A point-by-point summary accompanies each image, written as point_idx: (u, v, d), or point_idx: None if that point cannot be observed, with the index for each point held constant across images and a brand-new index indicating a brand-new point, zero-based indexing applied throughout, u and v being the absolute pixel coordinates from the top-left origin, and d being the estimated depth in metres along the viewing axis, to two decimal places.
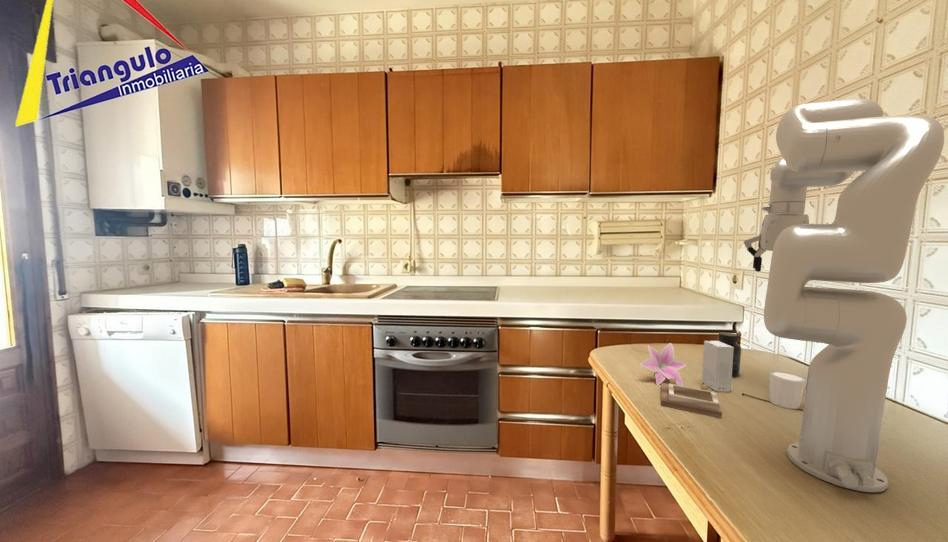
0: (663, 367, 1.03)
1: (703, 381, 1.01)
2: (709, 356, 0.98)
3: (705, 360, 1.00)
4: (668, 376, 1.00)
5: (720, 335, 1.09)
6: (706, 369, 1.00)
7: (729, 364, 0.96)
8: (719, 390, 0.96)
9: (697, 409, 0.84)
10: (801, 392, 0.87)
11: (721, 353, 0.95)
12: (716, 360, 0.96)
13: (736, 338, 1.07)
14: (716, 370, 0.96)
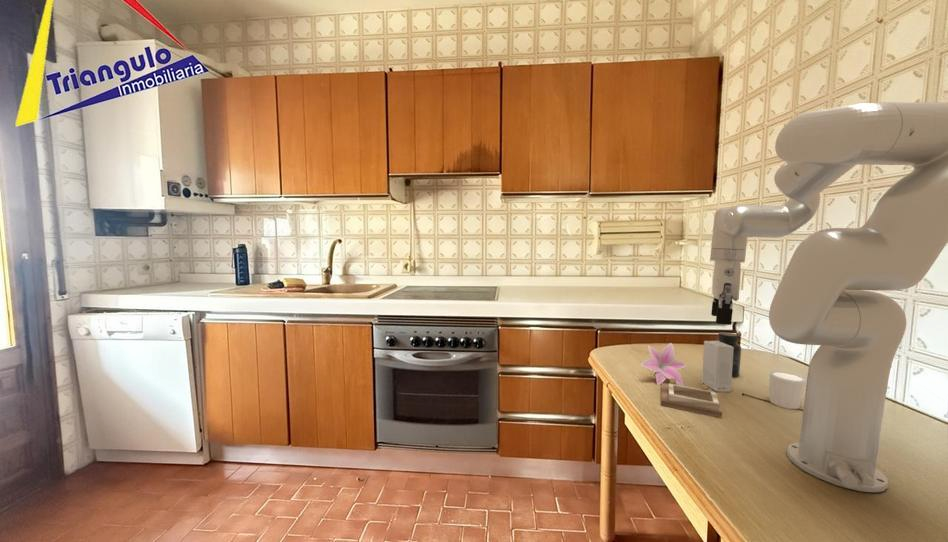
0: (663, 367, 1.03)
1: (703, 381, 1.01)
2: (709, 356, 0.98)
3: (705, 360, 1.00)
4: (668, 376, 1.00)
5: (720, 335, 1.09)
6: (706, 369, 1.00)
7: (729, 364, 0.96)
8: (719, 390, 0.96)
9: (697, 409, 0.84)
10: (801, 392, 0.87)
11: (720, 353, 0.95)
12: (716, 360, 0.96)
13: (736, 338, 1.07)
14: (716, 370, 0.96)
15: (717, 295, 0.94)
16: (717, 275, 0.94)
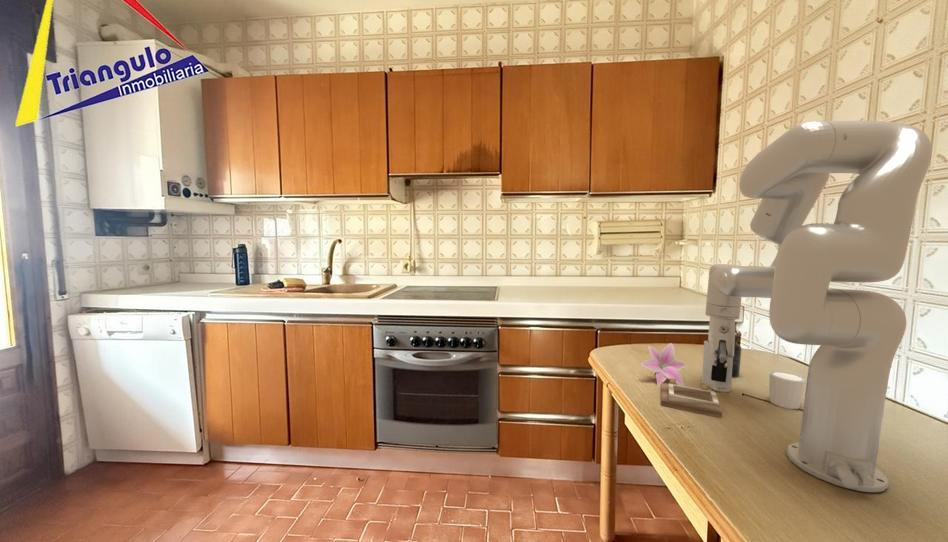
0: (664, 367, 1.03)
1: (703, 381, 1.01)
2: (709, 356, 0.98)
3: (705, 360, 1.00)
4: (669, 376, 1.00)
5: None
6: (706, 369, 1.00)
7: (729, 364, 0.96)
8: (719, 390, 0.96)
9: (697, 409, 0.84)
10: (801, 392, 0.87)
11: None
12: None
13: (736, 338, 1.07)
14: None
15: (712, 351, 0.95)
16: (712, 331, 0.95)
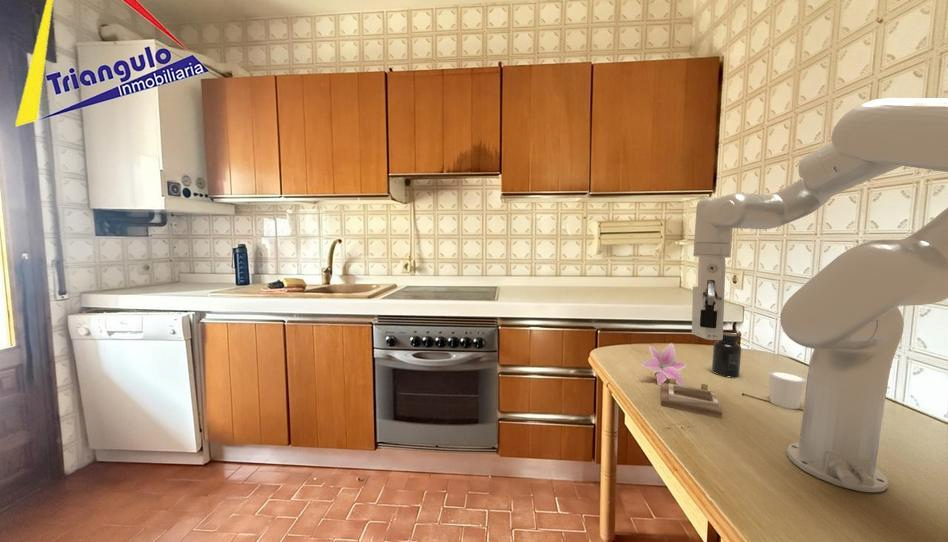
0: (664, 367, 1.03)
1: (693, 331, 0.91)
2: (698, 301, 0.89)
3: (694, 307, 0.91)
4: (669, 376, 1.00)
5: None
6: (695, 317, 0.90)
7: (720, 308, 0.86)
8: (709, 338, 0.86)
9: (697, 409, 0.84)
10: (801, 392, 0.87)
11: None
12: None
13: (736, 338, 1.07)
14: None
15: (700, 294, 0.85)
16: (700, 272, 0.86)
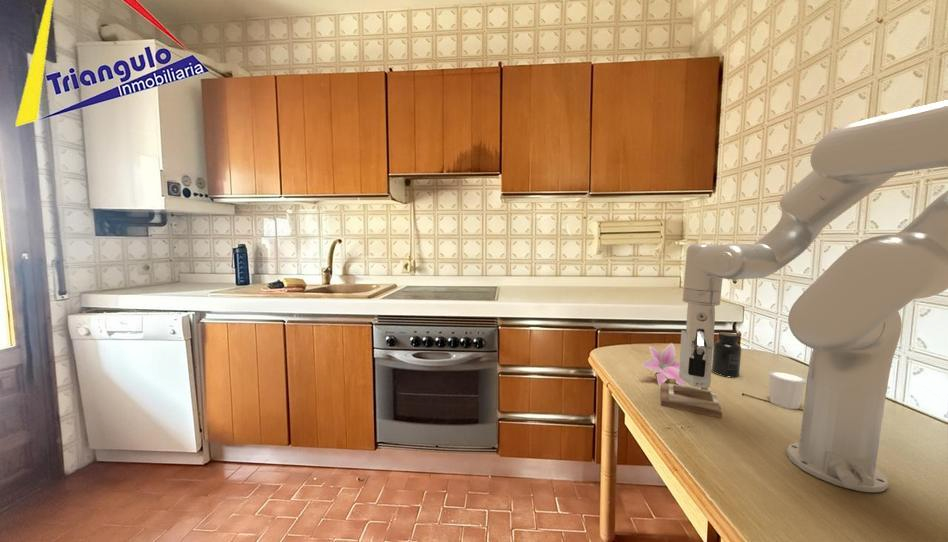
0: (664, 367, 1.03)
1: (680, 376, 0.90)
2: (687, 347, 0.87)
3: (682, 352, 0.89)
4: (670, 376, 1.00)
5: (720, 335, 1.09)
6: (683, 362, 0.89)
7: (708, 356, 0.84)
8: (697, 386, 0.85)
9: (697, 409, 0.84)
10: (801, 392, 0.87)
11: None
12: None
13: (736, 338, 1.07)
14: None
15: (689, 342, 0.84)
16: (689, 319, 0.84)
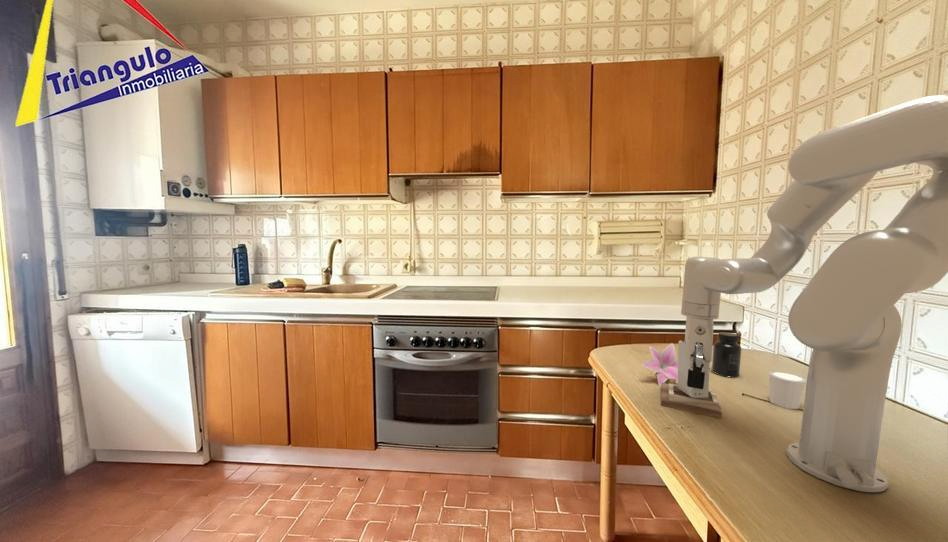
0: (665, 367, 1.03)
1: (678, 386, 0.90)
2: (684, 358, 0.88)
3: (680, 362, 0.90)
4: (670, 377, 1.00)
5: (720, 335, 1.09)
6: (681, 372, 0.89)
7: (706, 366, 0.85)
8: (695, 396, 0.85)
9: (697, 409, 0.84)
10: (801, 392, 0.87)
11: None
12: None
13: (736, 338, 1.07)
14: None
15: (688, 355, 0.84)
16: (688, 332, 0.84)
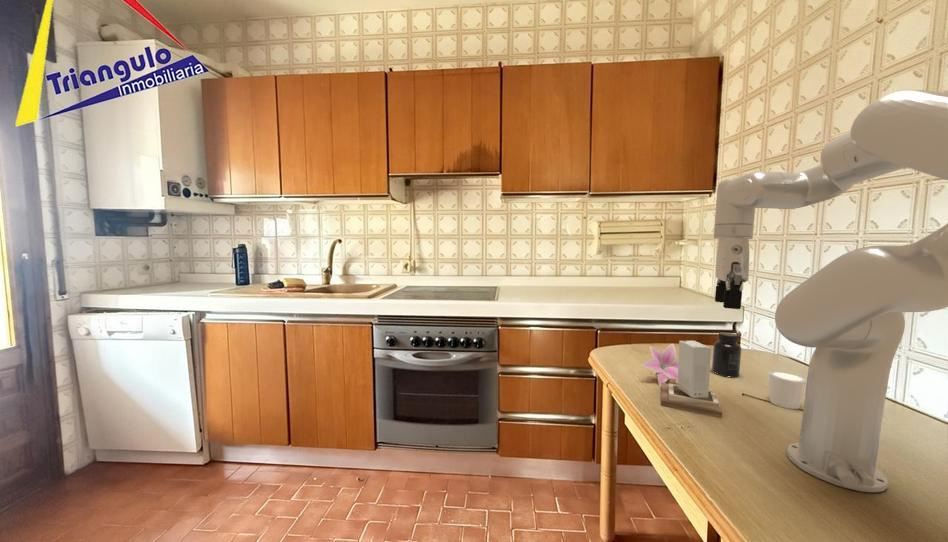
0: (665, 368, 1.03)
1: (678, 386, 0.90)
2: (685, 358, 0.88)
3: (680, 362, 0.90)
4: (670, 377, 1.00)
5: (720, 335, 1.09)
6: (681, 372, 0.89)
7: (706, 366, 0.85)
8: (695, 396, 0.85)
9: (697, 409, 0.84)
10: (801, 392, 0.87)
11: (696, 355, 0.85)
12: (691, 362, 0.85)
13: (736, 338, 1.07)
14: (691, 374, 0.85)
15: (724, 276, 0.83)
16: (723, 254, 0.84)
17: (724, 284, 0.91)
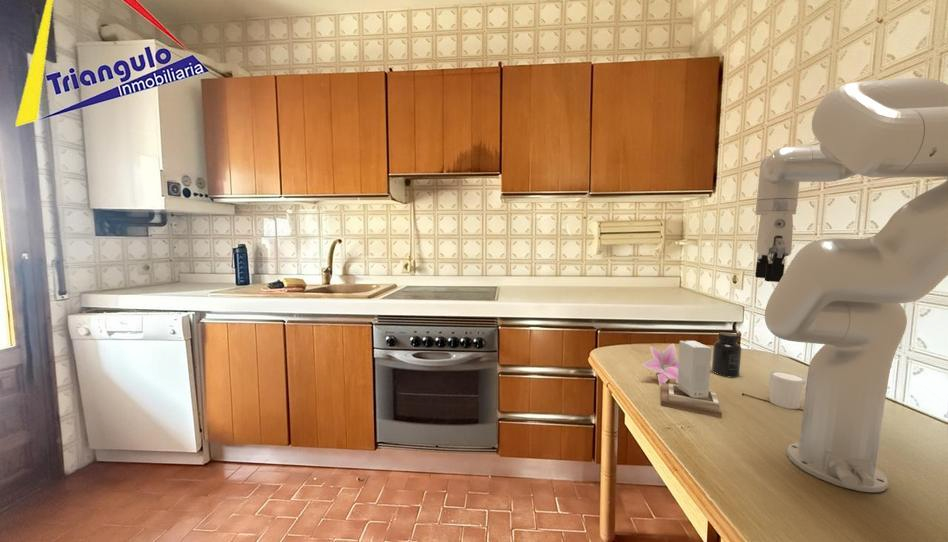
0: (665, 368, 1.03)
1: (678, 386, 0.90)
2: (685, 358, 0.88)
3: (680, 362, 0.90)
4: (671, 377, 1.00)
5: (720, 335, 1.09)
6: (681, 372, 0.89)
7: (706, 366, 0.85)
8: (695, 396, 0.85)
9: (697, 409, 0.84)
10: (801, 392, 0.87)
11: (696, 355, 0.85)
12: (692, 362, 0.85)
13: (736, 338, 1.07)
14: (691, 374, 0.85)
15: (766, 250, 0.85)
16: (766, 228, 0.86)
17: (765, 260, 0.93)
